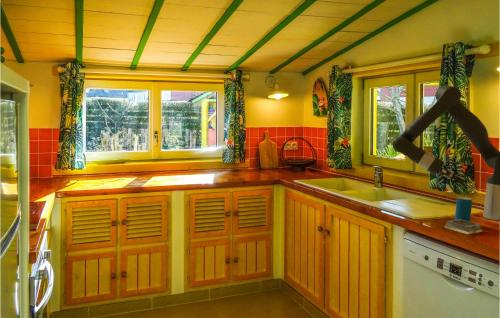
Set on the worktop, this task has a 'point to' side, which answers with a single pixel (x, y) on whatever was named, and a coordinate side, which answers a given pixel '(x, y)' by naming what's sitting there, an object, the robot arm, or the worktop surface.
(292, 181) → the worktop surface
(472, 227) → the grey square tray
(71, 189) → the worktop surface
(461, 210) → the beverage can
